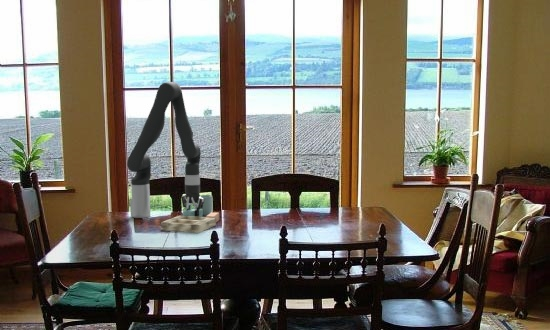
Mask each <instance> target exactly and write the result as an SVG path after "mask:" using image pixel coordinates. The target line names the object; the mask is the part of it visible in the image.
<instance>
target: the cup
mask: <svg viewBox="0 0 550 330" xmlns="http://www.w3.org/2000/svg"><path fill="white" fill-rule="evenodd" d="M199 195H200V197H201V198H205V200H204V204H203V208H202V209H203V216H207V215H208V214H210V213H211V212H213V201H214V199H213V195H211V194H202V195H201V194H199Z"/></svg>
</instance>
